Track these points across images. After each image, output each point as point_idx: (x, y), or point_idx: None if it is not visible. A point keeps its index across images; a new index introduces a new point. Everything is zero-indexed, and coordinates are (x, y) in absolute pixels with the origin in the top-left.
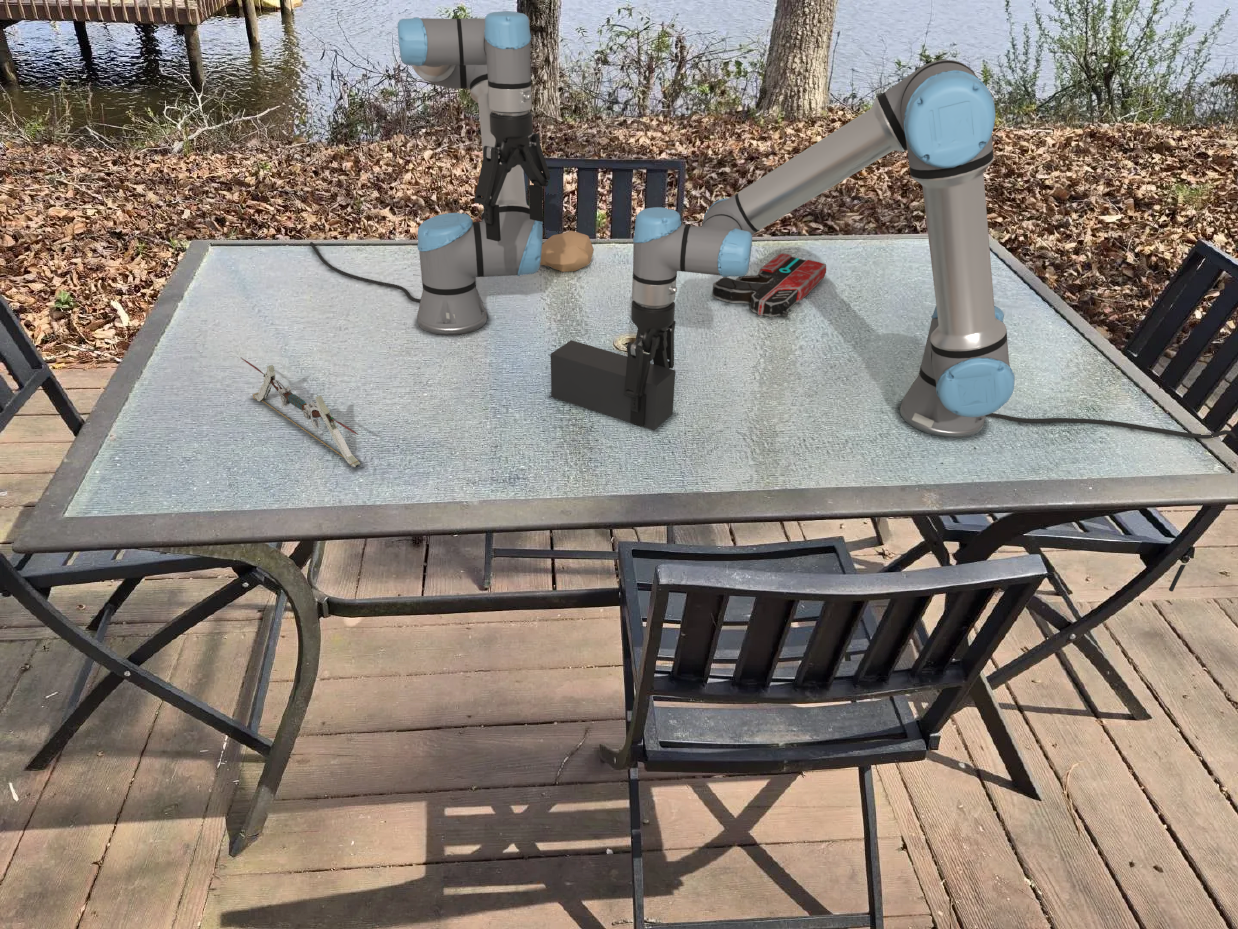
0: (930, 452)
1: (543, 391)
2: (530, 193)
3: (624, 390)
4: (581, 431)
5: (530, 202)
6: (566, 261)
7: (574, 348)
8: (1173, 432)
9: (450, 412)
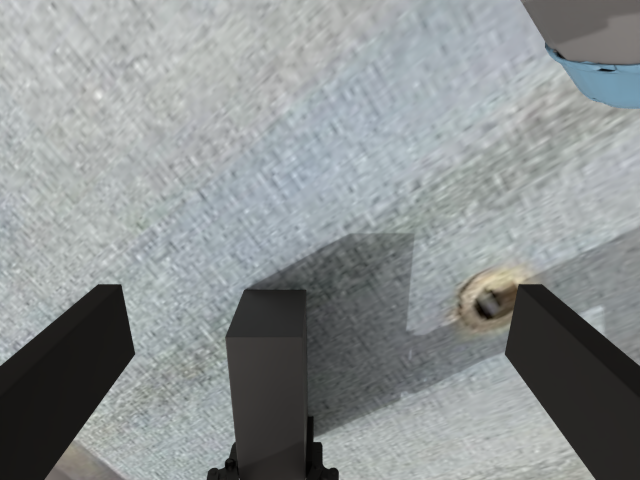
0: None
1: (251, 269)
2: (635, 413)
3: (207, 476)
4: (190, 373)
5: (581, 356)
6: None
7: (273, 360)
8: None
9: (89, 182)
